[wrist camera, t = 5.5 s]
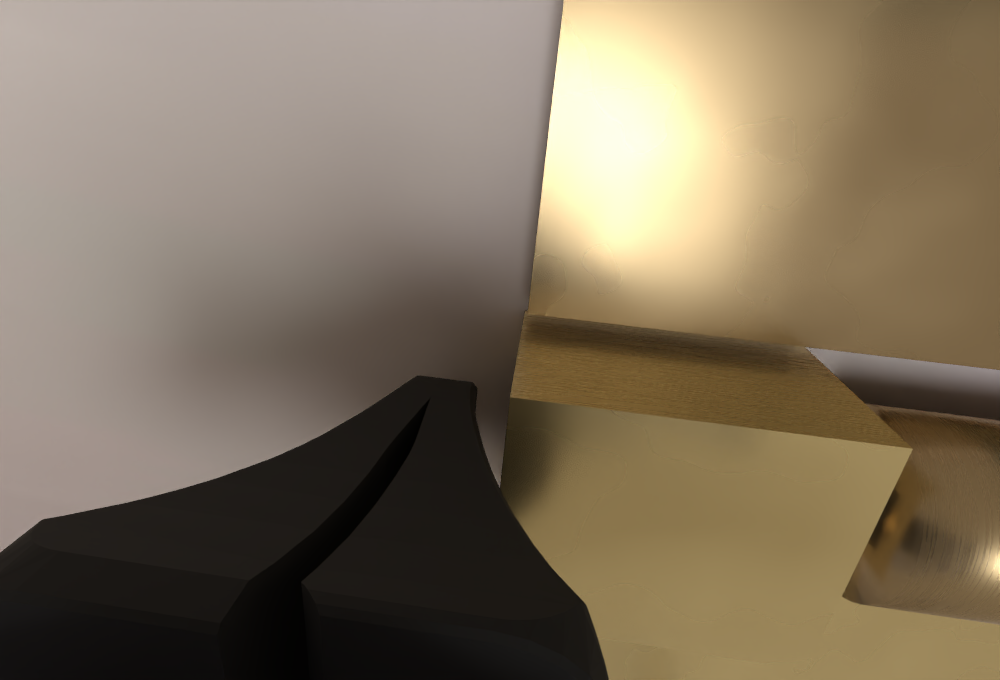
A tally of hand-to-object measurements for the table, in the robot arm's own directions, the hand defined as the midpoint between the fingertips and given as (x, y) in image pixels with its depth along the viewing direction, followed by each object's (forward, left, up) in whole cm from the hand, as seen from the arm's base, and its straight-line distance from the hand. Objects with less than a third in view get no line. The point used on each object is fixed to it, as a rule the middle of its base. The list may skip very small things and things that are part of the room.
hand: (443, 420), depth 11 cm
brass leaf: (+7, -3, -1) cm, 8 cm away
